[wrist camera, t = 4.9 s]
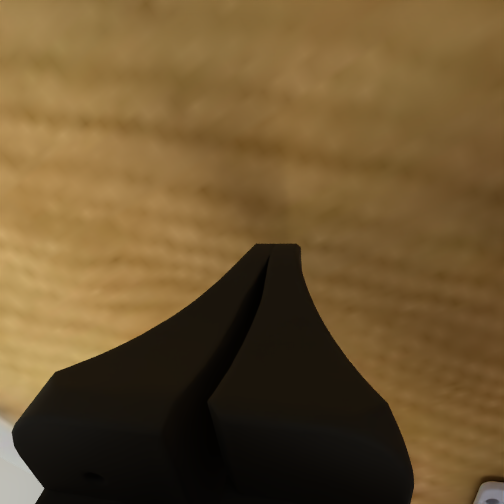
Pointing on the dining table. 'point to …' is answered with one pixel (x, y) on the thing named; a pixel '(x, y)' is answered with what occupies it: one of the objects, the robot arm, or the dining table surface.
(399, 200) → the dining table surface
